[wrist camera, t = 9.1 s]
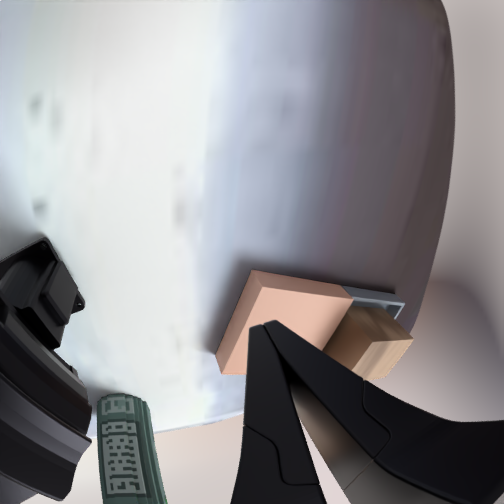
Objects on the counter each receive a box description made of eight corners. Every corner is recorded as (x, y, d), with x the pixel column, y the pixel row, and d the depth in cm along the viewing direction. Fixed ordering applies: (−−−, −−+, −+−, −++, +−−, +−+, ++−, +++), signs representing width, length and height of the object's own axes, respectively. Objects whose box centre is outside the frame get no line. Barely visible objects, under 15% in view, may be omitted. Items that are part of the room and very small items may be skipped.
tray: (298, 356, 31) (306, 369, 30) (341, 285, 28) (352, 296, 26) (356, 354, 36) (363, 363, 34) (395, 294, 32) (405, 303, 31)
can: (108, 421, 27) (121, 530, 15) (90, 395, 25) (98, 522, 12) (153, 418, 29) (177, 528, 17) (141, 392, 26) (164, 522, 14)
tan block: (339, 385, 26) (385, 377, 29) (372, 341, 24) (414, 339, 27) (313, 346, 31) (359, 345, 34) (339, 304, 28) (383, 308, 32)
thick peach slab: (215, 355, 27) (221, 374, 25) (251, 269, 23) (262, 286, 21) (297, 356, 31) (306, 372, 29) (340, 285, 28) (353, 299, 26)
